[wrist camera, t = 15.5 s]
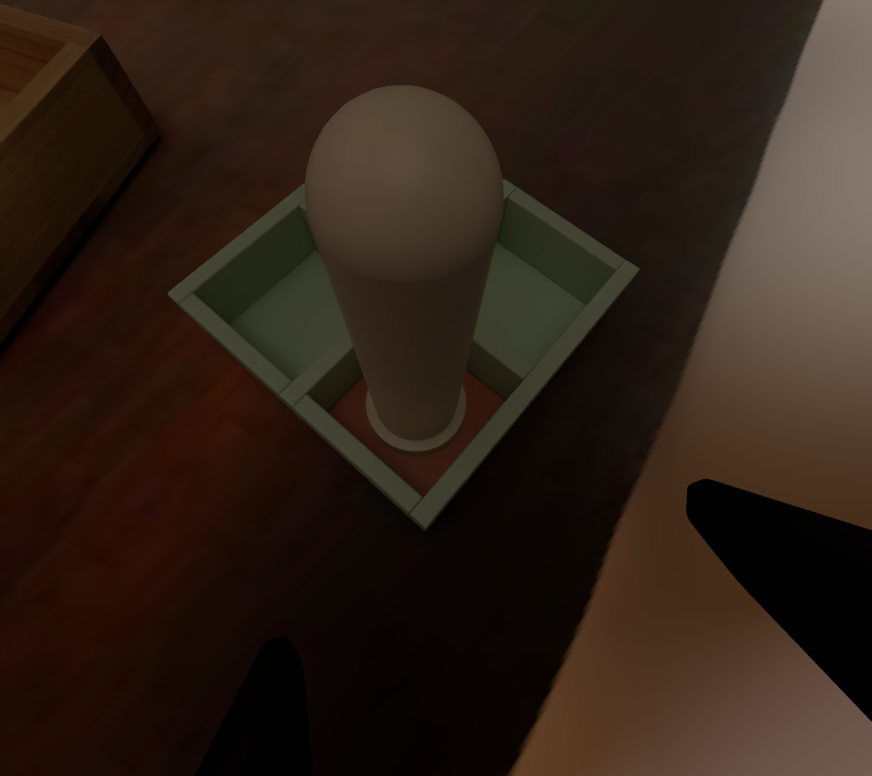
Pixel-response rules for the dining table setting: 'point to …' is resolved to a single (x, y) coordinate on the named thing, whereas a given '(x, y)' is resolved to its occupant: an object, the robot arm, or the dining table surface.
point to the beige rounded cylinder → (407, 251)
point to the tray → (58, 146)
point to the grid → (336, 359)
